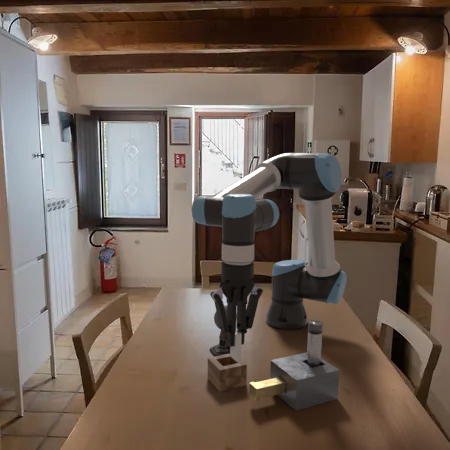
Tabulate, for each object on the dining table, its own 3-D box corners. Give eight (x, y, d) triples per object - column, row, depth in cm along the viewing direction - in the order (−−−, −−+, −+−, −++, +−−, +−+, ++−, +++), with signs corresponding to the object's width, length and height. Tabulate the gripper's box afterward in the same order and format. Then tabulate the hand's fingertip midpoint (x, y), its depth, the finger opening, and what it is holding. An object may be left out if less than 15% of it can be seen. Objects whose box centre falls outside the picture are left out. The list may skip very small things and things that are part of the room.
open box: (233, 372, 131) (233, 352, 130) (246, 385, 124) (246, 364, 123) (207, 378, 128) (207, 357, 127) (219, 391, 121) (219, 370, 120)
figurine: (237, 359, 140) (238, 312, 138) (206, 355, 142) (206, 309, 140) (242, 347, 148) (242, 303, 146) (212, 344, 150) (212, 300, 148)
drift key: (249, 394, 115) (249, 382, 114) (280, 386, 119) (280, 375, 118) (256, 401, 112) (256, 388, 111) (287, 393, 116) (288, 381, 115)
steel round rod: (313, 382, 124) (316, 319, 121) (322, 389, 121) (325, 324, 118) (302, 385, 122) (305, 321, 119) (311, 392, 119) (314, 326, 116)
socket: (269, 388, 123) (270, 360, 122) (309, 378, 128) (310, 351, 127) (295, 410, 112) (296, 380, 111) (337, 399, 118) (339, 369, 117)
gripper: (254, 255, 112) (251, 347, 115) (205, 260, 106) (204, 356, 110) (270, 262, 105) (267, 359, 109) (219, 267, 100) (217, 369, 103)
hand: (235, 357), depth 109 cm, fingers closed
